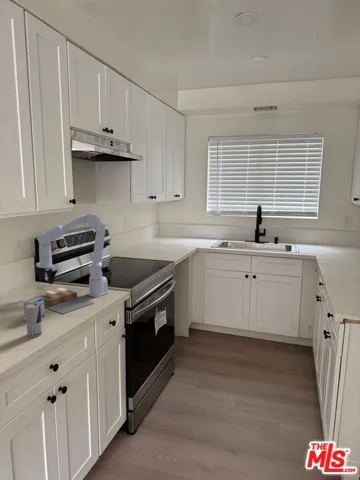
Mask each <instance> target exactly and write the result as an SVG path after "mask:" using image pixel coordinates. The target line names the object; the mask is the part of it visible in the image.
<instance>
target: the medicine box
mask: <svg viewBox="0 0 360 480" xmlns="http://www.w3.org/2000/svg"><path fill="white" fill-rule="evenodd" d="M32 303H38V304H40V306H41V318H43V317H45V314H46V312H45V311H46V310H45V306H44V298H43V297H37V296H35V297H32V298H30V299H28V300H25V301H23V303H22V304H23V313H24V315H23V316H24V321H25V322H27V321H26V306H27V305H28V304H32Z"/></svg>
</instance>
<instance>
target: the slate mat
mask: <svg viewBox="0 0 360 480" xmlns="http://www.w3.org/2000/svg"><path fill="white" fill-rule="evenodd" d="M93 304H95V302H92V301H90V300H88V299H84V298H81V297H77V298H76V299H73V300H70V301H67V302H64V303H60V304H57V305H54V306H51V307H47V309H48V310H50V311H52V312H56V313H58V314H60V315H65V314H68V313H71V312H74V311H77V310H79V309H82V308H83V309H84V308H85V307H88V306H90V305H93Z"/></svg>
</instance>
